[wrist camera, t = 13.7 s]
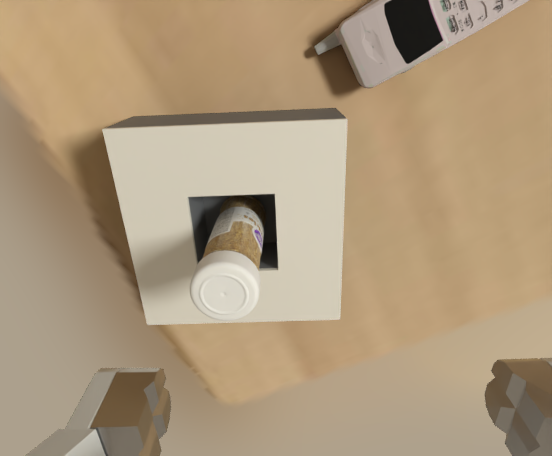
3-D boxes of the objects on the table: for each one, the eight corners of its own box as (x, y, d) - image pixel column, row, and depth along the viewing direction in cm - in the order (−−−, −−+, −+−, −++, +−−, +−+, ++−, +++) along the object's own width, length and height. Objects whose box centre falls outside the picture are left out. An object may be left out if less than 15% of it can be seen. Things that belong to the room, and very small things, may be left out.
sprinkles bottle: (275, 220, 36) (273, 303, 24) (238, 243, 38) (217, 334, 25) (247, 182, 35) (230, 251, 23) (209, 208, 36) (173, 287, 24)
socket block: (132, 116, 33) (102, 129, 28) (335, 108, 33) (347, 119, 27) (166, 286, 41) (147, 324, 35) (331, 281, 40) (340, 319, 35)
